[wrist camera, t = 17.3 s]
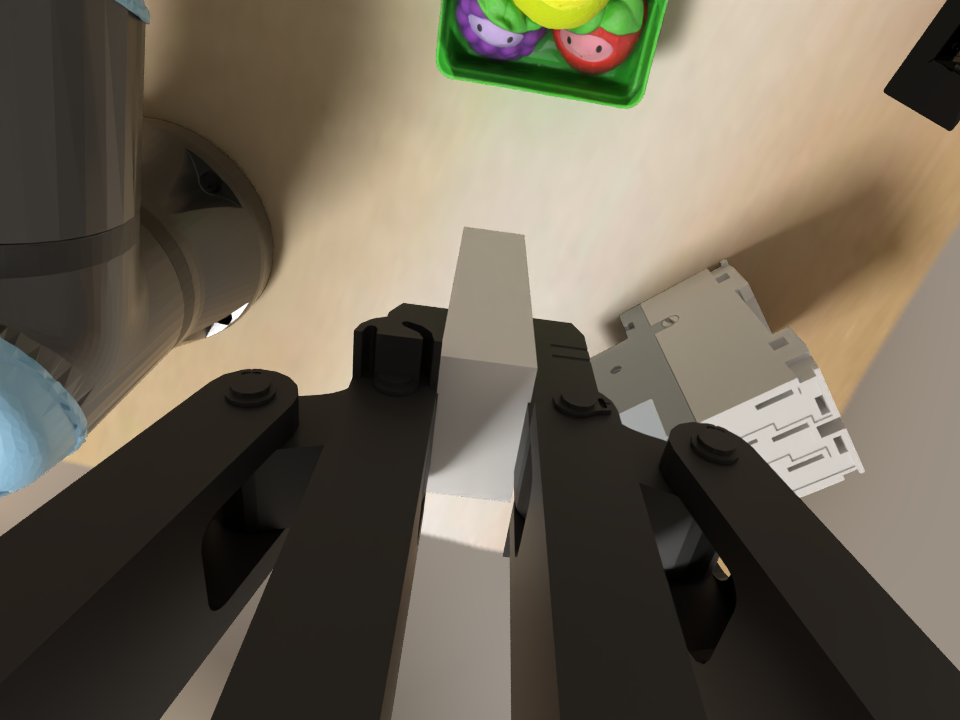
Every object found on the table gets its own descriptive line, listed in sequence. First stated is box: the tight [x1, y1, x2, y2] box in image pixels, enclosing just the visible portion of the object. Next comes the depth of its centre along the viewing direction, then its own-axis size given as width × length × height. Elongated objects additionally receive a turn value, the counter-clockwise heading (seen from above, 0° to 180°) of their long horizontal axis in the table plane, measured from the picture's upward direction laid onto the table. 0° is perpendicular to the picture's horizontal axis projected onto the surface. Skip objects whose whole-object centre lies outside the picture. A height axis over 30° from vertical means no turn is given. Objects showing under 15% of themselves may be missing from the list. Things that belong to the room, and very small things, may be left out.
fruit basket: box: [436, 0, 668, 109], centre depth 30 cm, size 11×9×11 cm
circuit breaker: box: [590, 259, 865, 498], centre depth 39 cm, size 8×14×15 cm, turn 123°
